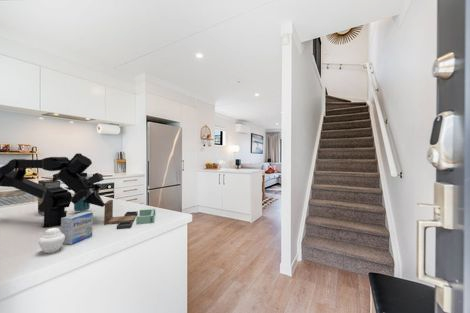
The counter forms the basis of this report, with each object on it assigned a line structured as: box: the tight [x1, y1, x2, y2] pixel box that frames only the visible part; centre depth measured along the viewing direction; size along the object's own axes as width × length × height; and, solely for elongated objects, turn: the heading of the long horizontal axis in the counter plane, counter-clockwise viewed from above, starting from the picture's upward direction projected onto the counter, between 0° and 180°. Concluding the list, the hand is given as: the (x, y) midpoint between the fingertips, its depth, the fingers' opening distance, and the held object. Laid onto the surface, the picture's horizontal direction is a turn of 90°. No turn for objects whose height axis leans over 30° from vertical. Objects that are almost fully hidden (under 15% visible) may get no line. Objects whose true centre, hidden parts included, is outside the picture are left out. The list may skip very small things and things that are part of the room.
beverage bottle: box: [73, 172, 91, 212], centre depth 102 cm, size 6×7×20 cm
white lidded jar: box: [37, 227, 65, 254], centre depth 62 cm, size 6×6×7 cm
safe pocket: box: [135, 208, 156, 225], centre depth 94 cm, size 7×12×3 cm, turn 19°
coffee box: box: [37, 179, 61, 217], centre depth 100 cm, size 9×6×16 cm
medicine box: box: [60, 211, 94, 246], centre depth 70 cm, size 8×4×9 cm, turn 168°
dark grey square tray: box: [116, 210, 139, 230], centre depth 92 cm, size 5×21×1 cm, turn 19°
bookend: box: [103, 199, 137, 226], centre depth 91 cm, size 11×7×9 cm, turn 108°
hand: (103, 205), depth 88 cm, fingers closed
